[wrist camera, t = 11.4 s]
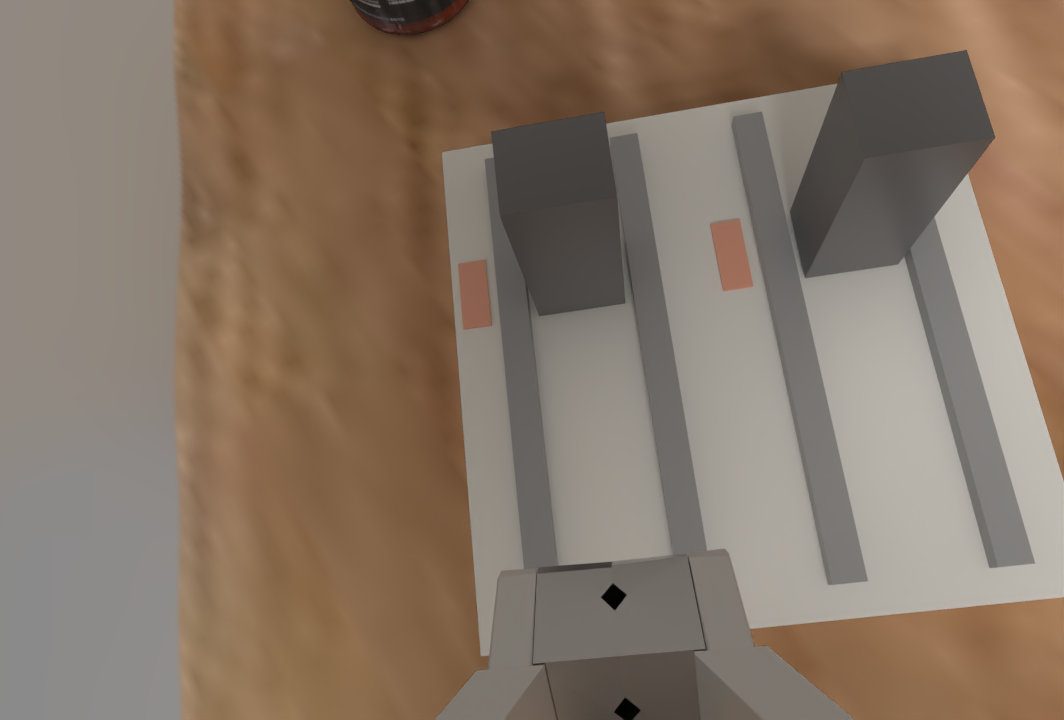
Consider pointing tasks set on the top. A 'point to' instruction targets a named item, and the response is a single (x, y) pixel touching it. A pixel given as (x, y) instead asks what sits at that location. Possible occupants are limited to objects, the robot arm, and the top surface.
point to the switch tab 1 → (562, 211)
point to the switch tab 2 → (887, 161)
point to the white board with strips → (753, 390)
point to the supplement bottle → (407, 14)
